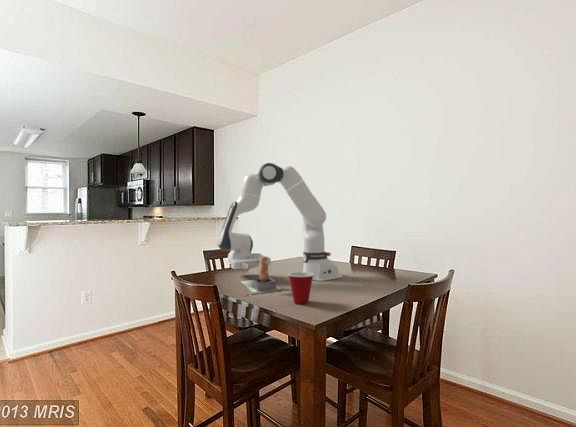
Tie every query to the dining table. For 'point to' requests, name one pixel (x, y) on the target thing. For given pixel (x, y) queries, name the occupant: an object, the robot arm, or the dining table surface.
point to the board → (261, 285)
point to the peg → (263, 269)
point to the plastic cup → (301, 286)
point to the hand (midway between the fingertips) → (257, 265)
